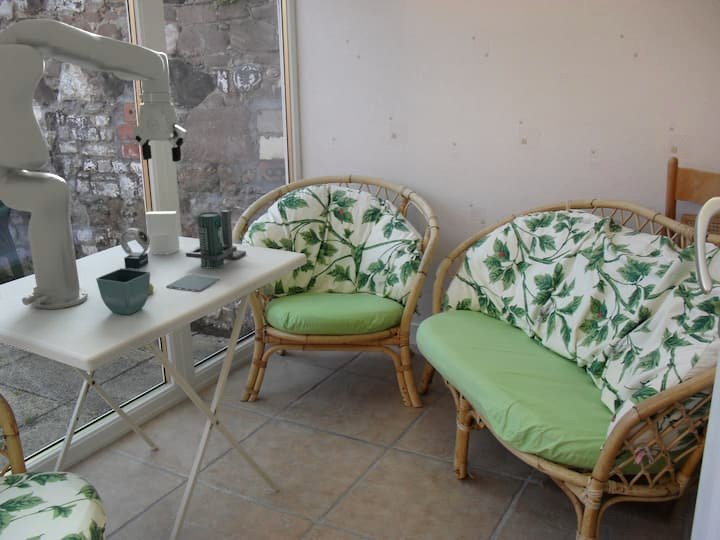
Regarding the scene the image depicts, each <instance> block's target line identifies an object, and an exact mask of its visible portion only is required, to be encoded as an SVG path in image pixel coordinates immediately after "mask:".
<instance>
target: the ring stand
mask: <svg viewBox="0 0 720 540" xmlns="http://www.w3.org/2000/svg"><path fill="white" fill-rule="evenodd" d="M220 214H221V227H222V242H223V252H221V253H219V254H217V255H214V254H205V253H200V245H199V246H197V247H194V248H192V249H191V250H188V251H187V252H185V257H186V258H193V259H200V260H201V259H210V260H220V259H222V258H224V260H225V259H227V260H234V261H237V260H239V259H240V258H242V257H244V256H246V255H247V251H246V250H238V248H237V247H238V246H235V245H233V231H232V230H233V229H232V215H231V214H232V213H231V210H230V209H228V210H227V209H224V210H221V211H220Z"/></svg>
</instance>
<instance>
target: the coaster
mask: <svg viewBox="0 0 720 540" xmlns="http://www.w3.org/2000/svg"><path fill="white" fill-rule="evenodd" d="M218 280H219V281H220V280H221V279H220V277H218V278H217V277H212V276H202V275H194V274H186V275H184V276H183V277H180V278H178V279H177V280H175V281H173V282H171V283H169V284H168V285H166V288H167V287H172V288H171V289H175V288H181V289H180V290H182V289H188V290H187V291H190V290H194V291H193V292H197V291H200V292H202V291H203V289H204V290H205V289H207V288H209V287H211V286H212V285H214V284H216V283H217V282H219V281H218ZM216 281H217V282H216ZM215 282H216V283H215ZM213 283H214V284H213ZM211 284H212V285H211ZM208 286H209V287H208ZM206 287H207V288H206ZM201 290H202V291H201Z"/></svg>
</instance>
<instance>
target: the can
mask: <svg viewBox="0 0 720 540" xmlns="http://www.w3.org/2000/svg"><path fill="white" fill-rule="evenodd" d="M197 227H198V238H199V239H198V240H199V246H200V252H199V253H205V254H214V255H217V254H219V253H221V252H223V235H222V220H221V212H218V211H205V212H200V213H198V214H197ZM224 264H225V259H224V258H222V259H220V260H210V259H201V258H200V266H201V265H202V266H203V267H202V266H201V267H202V268H205V267H208V268H207V269H215V268H216V267H217V268H221V267H223V266H224ZM220 266H221V267H220ZM209 267H210V268H209ZM211 267H212V268H211ZM214 267H215V268H214ZM217 268H216V269H217Z"/></svg>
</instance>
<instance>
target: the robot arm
mask: <svg viewBox="0 0 720 540" xmlns="http://www.w3.org/2000/svg"><path fill="white" fill-rule="evenodd" d="M44 59H52V60H56V61H59V62H63V63H67V64H71V65H73V66H76V67H80V68H82V69H85V70H90V71H91V70H92V71H97V72H112V74H113V75H114V76H116V77H117V78H119V79H121V80H123V81H136V82H137V81H140V84H141V85H140V86H141V93H140V94H139V99H140V100H142V103H140V106H139V113H138V115H139V116H138V118H139V119H138V126H136V127H135V128H133V129H132V131H131V132H132V133H133V135H134V137H135V140H136V141H137V142H138V143H139V146H141V154H142V159H143V161H147V160H152V158H153V157H152V147H151V144H150V142H151V141H160V142H161V141H162V142H163V141H164V142H165V141H168V142H169V143H170V144H171V145H172V146H173V147H171V157H172V158H171V159H172V160H171V161H172V162H173V163H175V162H180V161H181V158H182V151H181V147H182V146H183V144H184V143H185V141H186V138H187V137H188V131H187V130H186V129H184V128H183V127H181V126H179V125H178V120H177V113H176V110H175V106H174V104H173V103H172V98H171V97H172V96H171V85H170V72H169V60H168V56H167V54H166V53H164V52H160V51H159V52H158V51H154V50H153V49H150V48H147V47H144V46H142V45H140V44H139V45H138V44H136V43H132V42H128V41H123V40H118V39H115V38H111V37H107V36H104V35H99V34H95V33H92V32H89V31H86V30H84V29H81V28H78V27H75V26H72V25H70V24H67V23H64V22H61V21H58V20H55V19H49V18H42V19H41V18H40V19H22V20H19V21H17V22H14V23H13V24H12V25H10V26H8V27H6V28H5V29H4V30H2V31H0V201H1V203H3V204H4V206H6V207H7V208H10V209H12V210H16V211H22V212H27V213H28V212H29V213H31V216H30V220H29V223H28V226H27V227H28V228H27V236H28V241H29V247H30V254H31V260H32V266H33V271H34V279H35V284H36V285H35V287H33V292H32V293H31V294H29V295H26V296H24V297H22V299H21V302H22V304H23V305H24V306H29V305H30V304H32V305H33V307H36V308H38V309H43V310H56V309H64V308H68V307H73V306H76V305H78V304H79V305H80V304H82V303H83V302H84V301H86V300H87V298H88V292H87V290H85V289H84V288H80V287H81V286H80V280H79V272H78V266H77V265H78V264H77V260H76V259H77V258H76V252H75V246H74V245H75V243H74V238H73V231H72V220H71V211H72V210H71V207H72V206H71V205H72V190H71V188H70V186H69V184H68V182H67V181H66V180H65V179H64V178H63V177H60V176H58V175H56V174H54V173H48V172H39V171H38V170H42V169H43V168H45V167H46V166H47V165H48V163H49V160H50V151H49V147H48V145H47V141H46V138H45V136H44V134H43V130H42V128H41V124H40V123H39V120H38V118H37V114H36V110H35V108H34V94H35V92H36V88H37V86H38V85H39V83H40V81H41V79H42V78H43V76H44V72H45V60H44Z"/></svg>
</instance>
